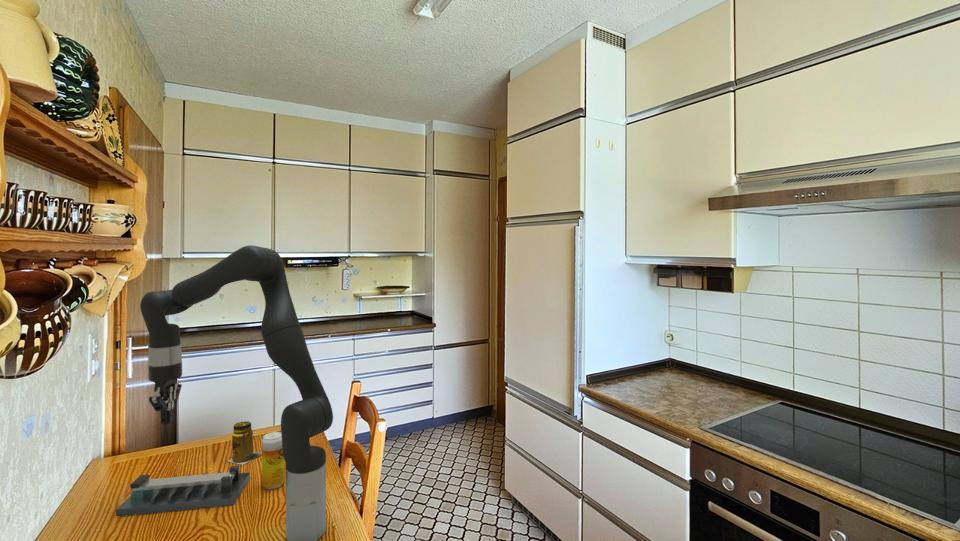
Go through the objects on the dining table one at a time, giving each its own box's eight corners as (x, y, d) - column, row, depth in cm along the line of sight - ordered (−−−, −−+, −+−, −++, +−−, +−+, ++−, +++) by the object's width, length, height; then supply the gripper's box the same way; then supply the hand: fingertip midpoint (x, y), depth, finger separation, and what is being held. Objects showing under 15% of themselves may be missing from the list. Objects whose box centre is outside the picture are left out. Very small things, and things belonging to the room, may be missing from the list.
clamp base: (233, 505, 116) (233, 483, 116) (116, 516, 111) (115, 494, 111) (250, 478, 130) (249, 459, 130) (146, 488, 125) (146, 468, 124)
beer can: (275, 491, 123) (275, 440, 123) (257, 489, 125) (256, 438, 124) (289, 480, 129) (288, 432, 129) (271, 478, 130) (271, 430, 130)
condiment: (226, 461, 141) (225, 426, 141) (248, 450, 149) (247, 417, 148) (242, 465, 138) (242, 429, 138) (263, 454, 146) (263, 419, 146)
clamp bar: (230, 484, 120) (230, 475, 120) (130, 493, 115) (130, 484, 115) (236, 475, 125) (236, 466, 125) (141, 483, 120) (141, 475, 120)
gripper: (168, 367, 112) (169, 431, 113) (191, 355, 125) (192, 413, 126) (135, 368, 111) (137, 434, 111) (162, 357, 124) (164, 415, 124)
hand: (166, 423), depth 119 cm, fingers closed
